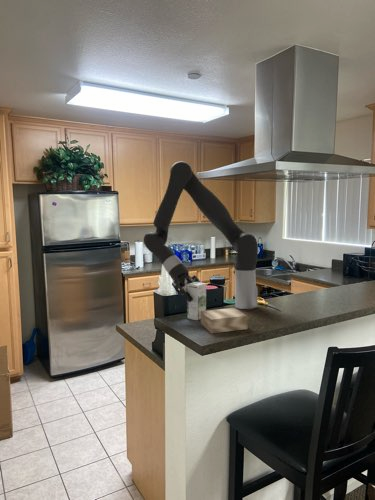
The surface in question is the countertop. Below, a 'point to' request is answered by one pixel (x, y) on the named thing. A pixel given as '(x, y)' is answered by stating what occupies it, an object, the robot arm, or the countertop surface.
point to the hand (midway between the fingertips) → (197, 298)
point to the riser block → (223, 320)
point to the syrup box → (196, 300)
